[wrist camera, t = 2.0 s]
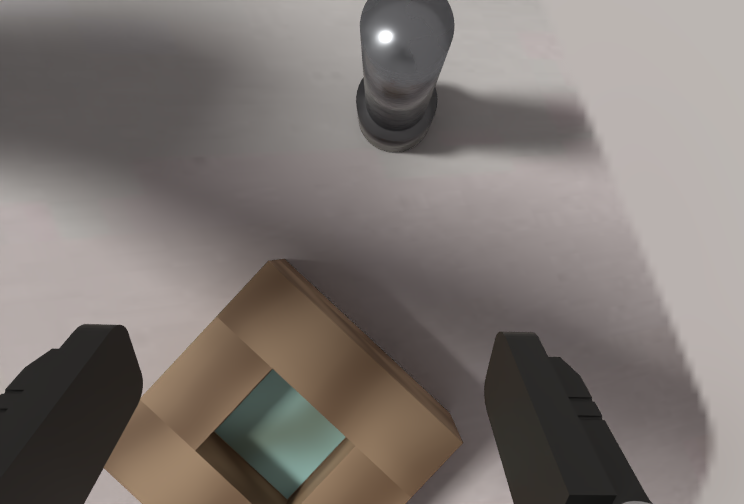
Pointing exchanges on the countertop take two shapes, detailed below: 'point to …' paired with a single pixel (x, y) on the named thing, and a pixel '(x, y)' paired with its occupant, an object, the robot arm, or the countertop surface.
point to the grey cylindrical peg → (401, 69)
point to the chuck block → (282, 411)
